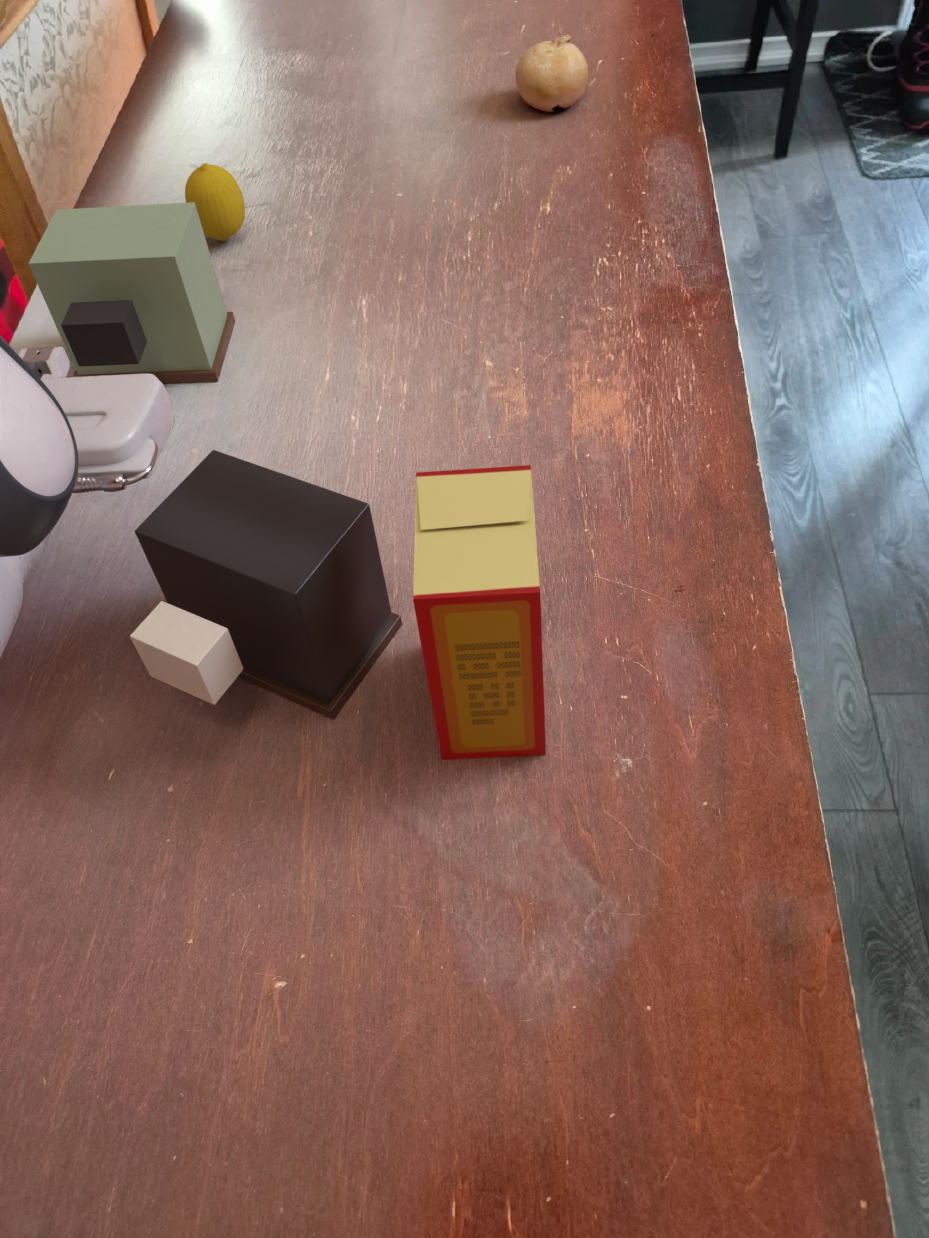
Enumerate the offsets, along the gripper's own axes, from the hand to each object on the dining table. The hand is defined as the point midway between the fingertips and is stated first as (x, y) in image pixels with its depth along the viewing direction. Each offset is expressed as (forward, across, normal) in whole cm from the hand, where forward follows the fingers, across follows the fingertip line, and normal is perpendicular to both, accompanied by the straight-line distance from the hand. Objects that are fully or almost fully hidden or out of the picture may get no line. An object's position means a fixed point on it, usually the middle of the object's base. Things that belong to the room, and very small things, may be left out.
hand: (47, 355), depth 75 cm
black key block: (-15, -17, +14) cm, 26 cm away
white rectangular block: (-22, -13, +7) cm, 27 cm away
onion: (+61, -36, +14) cm, 72 cm away
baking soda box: (-20, -31, +14) cm, 39 cm away
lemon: (+36, -3, +13) cm, 38 cm away
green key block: (+18, 0, +13) cm, 22 cm away
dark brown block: (+10, 0, +7) cm, 12 cm away
